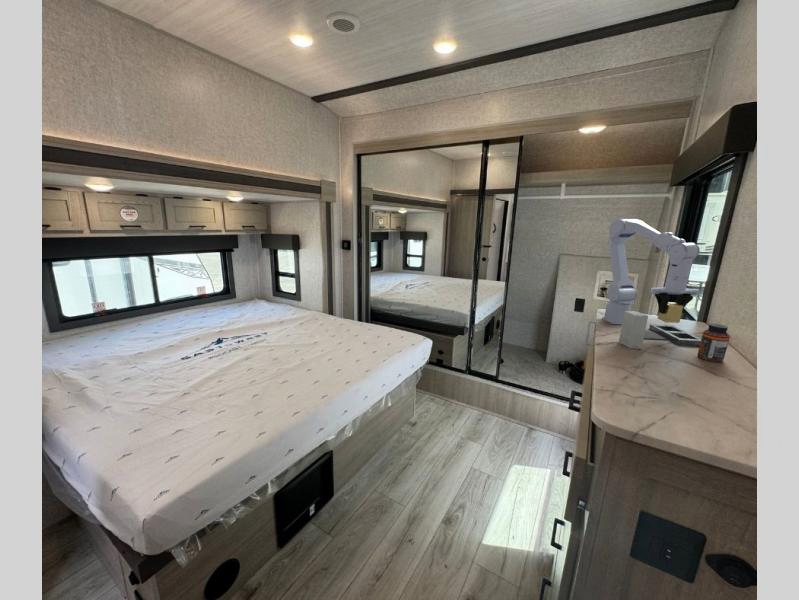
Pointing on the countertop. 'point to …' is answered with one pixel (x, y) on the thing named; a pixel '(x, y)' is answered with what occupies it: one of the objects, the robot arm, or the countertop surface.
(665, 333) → the grey rectangular frame
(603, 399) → the countertop surface
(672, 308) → the gold drawer box
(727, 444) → the countertop surface
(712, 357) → the supplement bottle
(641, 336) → the skincare box
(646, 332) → the mat
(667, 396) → the countertop surface
